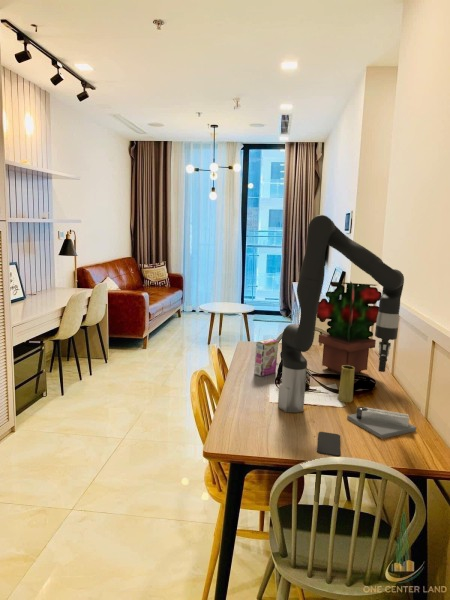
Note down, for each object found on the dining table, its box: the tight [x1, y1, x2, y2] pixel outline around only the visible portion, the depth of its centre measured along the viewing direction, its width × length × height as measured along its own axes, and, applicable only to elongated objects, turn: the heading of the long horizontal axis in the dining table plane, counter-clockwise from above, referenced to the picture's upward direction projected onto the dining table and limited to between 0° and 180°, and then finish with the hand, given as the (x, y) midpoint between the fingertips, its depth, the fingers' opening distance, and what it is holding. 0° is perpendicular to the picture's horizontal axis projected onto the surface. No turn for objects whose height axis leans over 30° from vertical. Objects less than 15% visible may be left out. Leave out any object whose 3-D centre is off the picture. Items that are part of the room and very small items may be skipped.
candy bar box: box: [253, 338, 279, 378], centre depth 213 cm, size 11×5×16 cm, turn 134°
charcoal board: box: [346, 408, 417, 439], centre depth 163 cm, size 17×17×2 cm
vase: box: [337, 365, 355, 403], centre depth 185 cm, size 6×6×14 cm
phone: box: [316, 431, 341, 457], centre depth 146 cm, size 7×1×15 cm
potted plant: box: [316, 280, 382, 375], centre depth 221 cm, size 22×22×45 cm
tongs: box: [355, 406, 410, 428], centre depth 162 cm, size 18×4×4 cm, turn 71°
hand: (381, 368), depth 162 cm, fingers open, 8 cm apart
